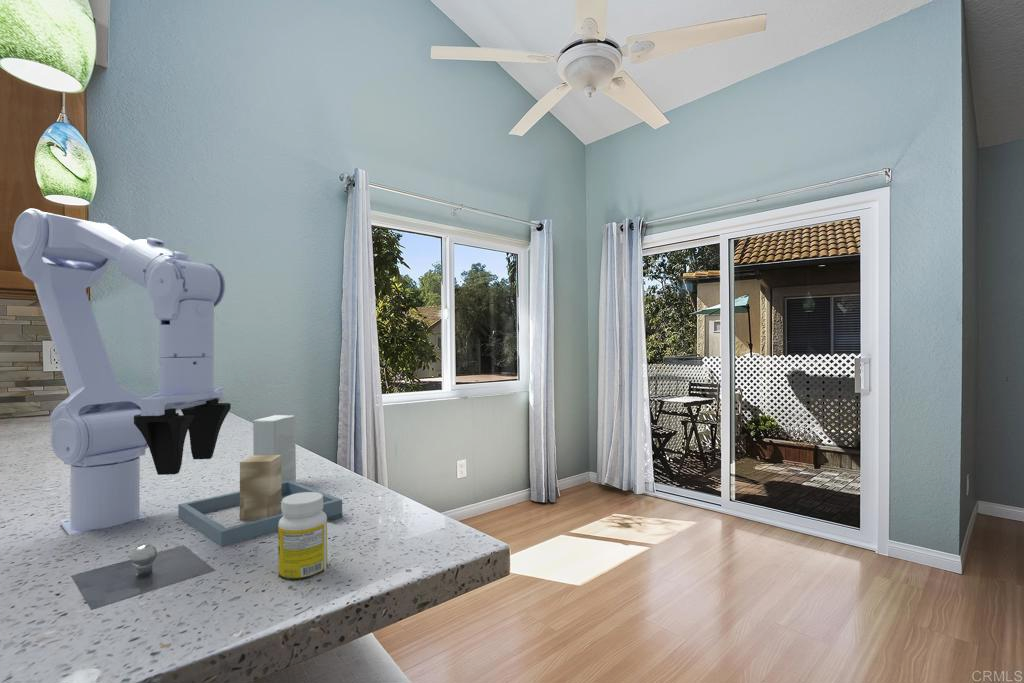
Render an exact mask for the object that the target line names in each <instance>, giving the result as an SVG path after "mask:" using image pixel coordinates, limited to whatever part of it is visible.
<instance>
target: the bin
mask: <svg viewBox="0 0 1024 683" xmlns="http://www.w3.org/2000/svg"><path fill="white" fill-rule="evenodd" d="M303 492H316V493H320V494H322V495H323V509H322V511H323V512H324V513H325V514H326V516H327V523H328V522H330V521H331V522H332V521H335V520H337V519H341V518H343V499H342V498H340V497H336V496H334V495H331V494H328V493H326V492H323V491H320V490H318V489H316V488H313V487H309V486H306V485H304V484H302V483H299V482H294V481H291V480H290V481H285V482H281V502H282V500H283V498H285V497H287V496H289V495H292V494H296V493H303ZM235 506H240V490H237V491H235V492H231V493H226V494H225V493H224V494H220V495H215V496H211V497H207V498H202V499H198V500H192V501H188V502H182V503H179V504H178V516H177V517H178V518H180V520H182V521H183V522H185V523H187V524H188V525H189V526H191V527H192V528H194V530H196V531H198V532H199V533H201V534H202V535H204V536H205V537H207V539H209V540H211V541H212V542H214V543H215V544H216V545H218V546H220V547H222V548H223V547H226V546H229V545H232V544H235V543H239V542H242V541H246V540H250V539H253V538H257V537H260V536H264V535H267V534H270V533H274V532H278V524H279V520H280V519H281V518H282V517H283V516H284V515H282V513H277V514H276V515H275V516H271V517H267V518H263V519H259V520H251V521H249V522H245V523H241V524H236V525H234V526H230V527H225V526H223V525H221V524H220V523H218V522H217V521H215V520H214V519H212V518H211V517H209V516H206V514H205V513H209V512H213V511H217V510H222V509H226V508H229V507H235Z"/></svg>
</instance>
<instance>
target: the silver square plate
mask: <svg viewBox="0 0 1024 683" xmlns="http://www.w3.org/2000/svg"><path fill="white" fill-rule="evenodd" d="M211 572H216V569H215V568H213V567H212V566H211V565H209V564H208V563H207V562H206V561H205V560H204V559H202V558H201V557H199V556H198V555H197V554H196V553H195V552H193V551H192V550H191V549H190V548H188V547H187V546H185V544H183V545H180V546H176V547H172V548H168V549H164V550H160V551H158V549H157V548H156V546H154V545H153V544H150V543H144V544H141V545H138V546H137V547H136V548H134V549H133V550H132V552H131V555H130V559H128V560H123V561H119V562H117V563H112V564H110V565H105V566H103V567H98V568H94V569H90V570H87V571H84V572H80V573H77V574H76V573H75V574H71V576H70V577H71V578H72V580H73V582H74V583H75V586H76V587H77V588H78V590H79V592H80V594H81V596H82V597H83V598H84V600H85V602H86V604H87V605H88V607H89V609H90V610H91V611H92V610H95V609H99V608H103V607H105V606H108V605H111V604H114V603H117V602H120V601H123V600H127V599H131V598H135V597H136V596H139V595H143V594H145V593H149V592H151V591H152V592H153V591H155V590H159V589H161V588H164V587H168V586H171V585H175V584H176V583H180V582H183V581H187V580H189V579H192V578H197V577H199V576H202V575H205V574H208V573H211Z"/></svg>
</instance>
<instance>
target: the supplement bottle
mask: <svg viewBox="0 0 1024 683" xmlns="http://www.w3.org/2000/svg"><path fill="white" fill-rule="evenodd" d="M322 509H323V495H322V494H320V493H316V492H303V493H296V494H292V495H289V496H287V497H285V498H283V500H282V501H281V510H280V511H281V514H282V515H284V516H283V517H282V518H281V519H280V520H279V524H278V531H277V534H278V538H277V540H278V544H277V546H278V577H279V578H280V579H282V580H284V581H290V582H291V581H293V582H294V581H295V582H296V581H305V580H308V579H312V578H314V577H316V576H319V575H321V574H323V573H324V572H325V571H327V568H328V522H327V516H326V514H325V513H324V512H323V511H322Z"/></svg>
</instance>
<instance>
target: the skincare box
mask: <svg viewBox="0 0 1024 683" xmlns="http://www.w3.org/2000/svg"><path fill="white" fill-rule="evenodd" d="M252 429H253V430H252V434H253V435H252V437H253V442H252V445H253V447H252V448H253V454H252V456H253V455H281V482H285V481H290V480H291V481H294V482H296V481H297V464H296V463H297V460H296V459H297V457H296V456H297V455H296V454H297V453H296V449H297V448H296V416H295V415H294V414H293V415H292V414H288V415H286V414H283V415H282V414H274V415H270V416H267V417H262V418H258V419H254V420H253V421H252ZM296 483H297V482H296Z"/></svg>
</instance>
